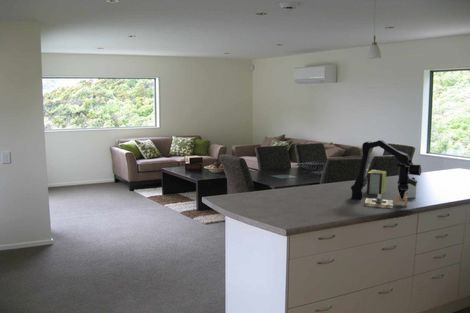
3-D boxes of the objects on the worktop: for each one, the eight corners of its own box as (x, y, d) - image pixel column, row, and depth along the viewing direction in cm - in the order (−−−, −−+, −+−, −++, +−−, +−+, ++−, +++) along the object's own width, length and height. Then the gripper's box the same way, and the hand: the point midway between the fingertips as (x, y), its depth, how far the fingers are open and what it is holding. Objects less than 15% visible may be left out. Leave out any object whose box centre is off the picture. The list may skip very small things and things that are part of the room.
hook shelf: (364, 205, 316) (365, 197, 315) (365, 200, 330) (366, 192, 329) (392, 208, 311) (393, 199, 310) (392, 203, 325) (393, 195, 324)
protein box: (385, 191, 362) (386, 170, 360) (381, 195, 349) (382, 173, 347) (370, 190, 367) (372, 169, 365) (366, 193, 354) (367, 172, 351)
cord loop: (396, 205, 319) (397, 190, 318) (396, 204, 322) (397, 189, 321) (406, 206, 317) (407, 191, 316) (406, 205, 320) (407, 190, 319)
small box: (411, 195, 349) (413, 177, 348) (415, 197, 343) (417, 179, 341) (400, 195, 348) (401, 177, 347) (404, 197, 342) (405, 179, 340)
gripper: (417, 177, 306) (415, 201, 308) (416, 172, 323) (414, 195, 326) (398, 175, 309) (397, 200, 311) (398, 171, 327) (396, 194, 329)
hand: (401, 197), depth 319 cm, fingers open, 9 cm apart
